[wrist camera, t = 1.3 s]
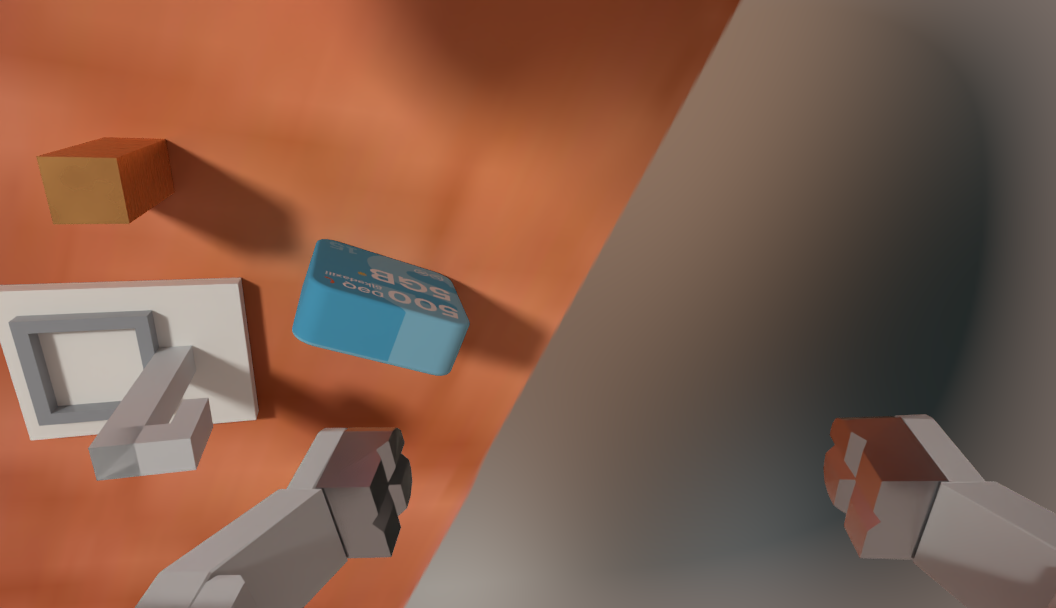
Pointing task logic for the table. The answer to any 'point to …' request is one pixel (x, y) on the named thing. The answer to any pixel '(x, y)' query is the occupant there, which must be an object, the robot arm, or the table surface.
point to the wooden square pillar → (106, 180)
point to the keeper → (130, 367)
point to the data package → (380, 309)
